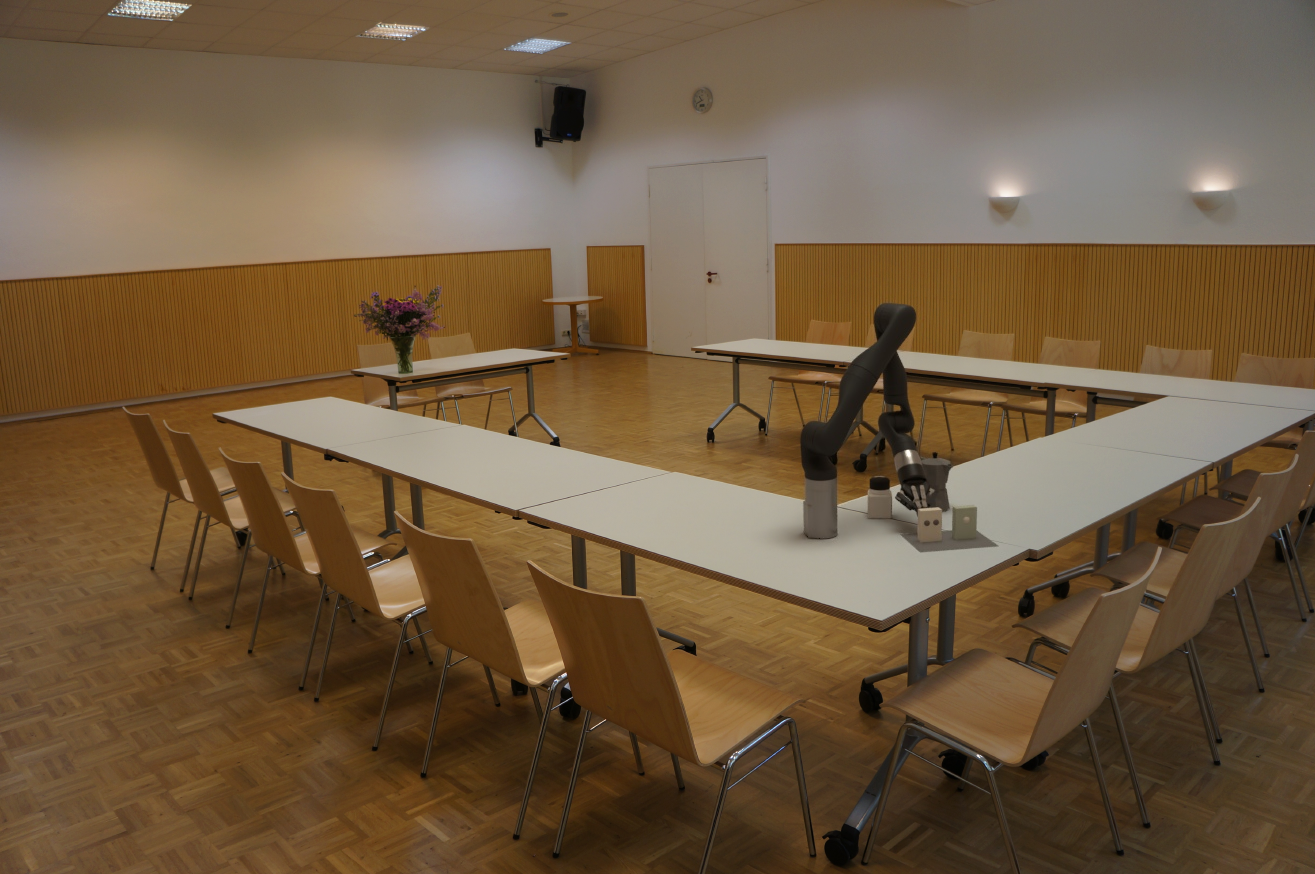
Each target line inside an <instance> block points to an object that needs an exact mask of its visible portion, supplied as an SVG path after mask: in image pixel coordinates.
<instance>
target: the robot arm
mask: <svg viewBox="0 0 1315 874" xmlns="http://www.w3.org/2000/svg"><path fill="white" fill-rule="evenodd" d="M916 322H917V311H916V309H915V307H913V306H912V305H910V304H905V303H895V302H883V303H881V304H880V305H878V306H877V307H876V309H875V311H874V313H873V325H874V326H873V327H874V333H875V338H876V342H874V343H873V344H872V345H870V346H869V347H868V348H867V349H865V350H864V351H862V352H860V354H859V355H857V356H856V357H855V358H854V359H853V360H852V361H851V362H850V364H849V366H848V367H847V369H846V370H845V372H844V373H843V375H842V377H841V379H840V381H839V385H838V387H839V388H838V399H837V401H838V402H837V405H836V408H835V410H834V412H833V413H832V415H831V417H830V418H829V420H828V421H827V422H824V421H819V420H811V421H808V422H807V423H805V424H804V426H803V427H802V429H801V433H800V438H799V440H800V441H799V442H800V443H799V444H800V458H801V459H800V460H801V467H802V470H803V472H804V500H803V503H802V504H803V505H802V507H803V508H802V511H803V514H802V515H803V516H802V517H803V520H802V521H803V533H804V534H805V535H806V537H807V536H808V537H807V539H819V538H820V540H821V539H832V538H834V537H836V536H837V535H838V528H839V526H838V468H837V467H836V465H835V464H833V462H832V461H831V460H830V459H829V457H831V456H834V455H836V453H838V451H839V450H840V449H841V448H842V446H843V444H844V442H845V440H846V439H847V436H848V434H849V432H850V429H851V428H852V426H853V424H854V421H855V420H856V418H857V416H858V414H859V413H860V411H861V409H862V407H863V405H864V403H865V402H866V400H867V399H868V397H869V395H870V394H871V393H872V391H873V389H874V388H875V386H876V384H877V383H878V381H879V379H880V378H881V376H882V388H883V401H884V403H885V404H887V405H891V406H892V405H893V406H898V407H900V409H899V410H892V411H885V412H882V413H880V415H879V416H878V418H877V425H878V428H879V431H880V433H881V434H882V436H883V438H884V439H885V440H886V442H887V444H888V445H889V447H890V449H891V453H892V456H893V460H894V467H895V471H896V473H897V478H898V482H899V485H900V489H899V490H900V491H898V492H897V493H896V494H895V496H894V499H895V500H896V501H898V502H899V503H900V504H901V505H902V506H903V507H905V508H906V510H909V511H915V513H916V516H917V518H918V509H923V508H930V507H931V505H932V504H933V502H934V500H935V498H936V496H937V495H938V493H939V490H938V489H936V490H934V489H932V488H930V485H929V484H928V483H927V479H926V476H925V472H924V469H923V466H922V462H921V459H920V457H921V456H920V455H919V453H918V450H917V446H916V443H915V439H914V437H912V436H911V435H908V434H909V433H911V432H913V430H914V429H915V423H916V422H915V418H914V414H913V412H912V410H911V405H910V401H909V396H908V395H909V394H908V376H907V371H906V369H905V366H904V364H903V361H902V359H901V357H900V356H899V352H898V350H899V348H900V347H901V346H902V345H903V343H905V341H906V339H907V338H908V337H909V336H910V334H911V333H912V331H913V329H914V328H915V325H916ZM906 434H907V435H906ZM928 492H929V493H930V494H929V495H930V497H931V498H930V500H929V502H928V503H926V496H927V494H928Z"/></svg>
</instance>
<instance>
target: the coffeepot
mask: <svg viewBox="0 0 1315 874" xmlns="http://www.w3.org/2000/svg"><path fill="white" fill-rule="evenodd" d="M938 454H939V453H938V452H937V451H933V452H932V457H930V458H926V457H923V456H919V457H920V459H921V462H922V466H923V469H924V472H925V476H926V479H927V483H928V484H929V485H930V488H932V489H934V490H936V489H938V490H939V493H938V495H937V496H936V498H935V500H934V502H933V504H932V505H931V507H930V508H937V507H939V508H940V509H942V513H943V512H947V511H949V509H950V507H951V506H950V502H949V501H950V499H949V495H948V488H947V483H948V480H949V475H950V474H949V473H950V471H951V469H952V468H954V465H953V463H951V461H950V460H948V459H945V458H940V457H938ZM929 494H930V493H929V492H928V494H927V496H926V503H928V502H929V500H930V498H931V497H930V495H929Z"/></svg>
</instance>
